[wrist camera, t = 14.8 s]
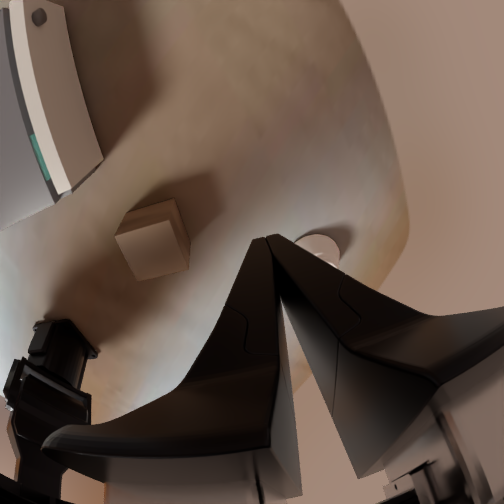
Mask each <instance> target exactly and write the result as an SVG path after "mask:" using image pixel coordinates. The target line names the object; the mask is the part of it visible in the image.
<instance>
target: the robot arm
mask: <svg viewBox="0 0 504 504" xmlns="http://www.w3.org/2000/svg"><path fill="white" fill-rule="evenodd" d="M281 301H282V303H283V306H284V308H285V311H286V313H287V315H288V317H289V320H290V322H291V324H292V327H293V329H294V331H295V333H296V336H297V338H298V340H299V343H300V345H301V347H302V350H303V352H304V354H305V356H306V359H307V361H308V363H309V366H310V368H311V370H312V373H313V375H314V377H315V379H316V382H317V384H318V386H319V389H320V391H321V393H322V396H323V398H324V400H325V403H326V405H327V407H328V410H329V412H330V414H331V417H332V419H333V421H334V424H335V426H336V428H337V431H338V433H339V435H340V438H341V440H342V442H343V445H344V447H345V450H346V452H347V454H348V457H349V459H350V461H351V464H352V466H353V468H354V471H355V473H356V475H357V478H358V479H360V478H363V477H366V476H369V475H371V474H374V473H376V472H379V471H381V470H384V469H385V472H386V474H387V477H388V480H389V483H390V484H388V485H386V486H384V487H383V489H384V492H385V495H386V500H383V501H381V502H379V503H376V504H504V307H499V308H493V309H487V310H482V311H475V312H468V313H460V314H453V315H445V316H433V315H428V314H424V313H422V312H419V311H417V310H415V309H413V308H411V307H408V306H406V305H404V304H402V303H400V302H398V301H396V300H394V299H391V298H389V297H387V296H385V295H383V294H381V293H379V292H377V291H375V290H373V289H371V288H369V287H367V286H366V285H364V284H362V283H361V282H359V281H357V280H355V279H354V278H352V277H350V276H349V275H347V274H346V275H345V273H344V272H342V271H340V270H339V269H337V268H335V267H334V266H332V265H330V264H329V263H327V262H325V261H324V260H322V259H320V258H319V257H317V256H315V255H314V254H312V253H310V252H309V251H307V250H305V249H304V248H302V247H300V246H298V245H297V244H295V243H293V242H292V241H290V240H288V239H287V238H285V237H283V236H281V235H280V234H273V235H269V236H266V238H265V237H261V238H256V239H253V240H252V242H251V244H250V246H249V249H248V251H247V253H246V256H245V258H244V260H243V263H242V265H241V267H240V270H239V272H238V275H237V277H236V279H235V282H234V284H233V286H232V289H231V291H230V293H229V296H228V298H227V301H226V303H225V306H224V307H223V310H222V312H221V315H220V317H219V319H218V321H217V323H216V325H215V327H214V329H213V331H212V333H211V335H210V336H209V338H208V340H207V342H206V343H205V345H204V347H203V348H202V350H201V352H200V353H199V355H198V356H197V358H196V360H195V361H194V363H193V365H192V366H191V368H190V370H189V371H188V373H187V375H186V376H185V378H184V379H183V380H182V382H181V383H180V384H179V385H178V386H177V387H176V388H175V389H174V390H172V391H171V392H169V393H168V394H166V395H164V396H162V397H160V398H158V399H156V400H154V401H152V402H150V403H148V404H146V405H144V406H142V407H140V408H138V409H136V410H134V411H131V412H129V413H127V414H125V415H123V416H121V417H119V418H116V419H114V420H111V421H108V422H105V423H101V424H95V425H91V395H90V394H88V393H85V392H83V391H81V390H80V388H81V383H82V379H83V375H84V371H85V367H86V363H87V359H95V358H97V357H98V353H97V352H96V351H95V350H94V349H93V347H92V346H91V345H90V344H89V343H88V341H87V340H86V339H85V338H84V337H83V335H82V334H81V333H80V332H79V331H78V329H77V328H76V327H75V326H74V324H73V323H72V322H71V321H70V320H68V319H64V320H59V321H53V322H48V323H43V324H38V325H34V327H33V331H34V332H35V334H34V336H33V339H32V341H31V344H30V346H29V349H28V353H29V354H30V355H29V357H28V360H27V359H26V358H25V357H22V359H21V360H17V359H14V361H13V364H12V367H11V369H10V372H9V375H8V378H7V380H6V383H5V386H4V389H3V393H4V395H5V398H6V400H5V401H6V406H5V408H6V409H7V410H9V411H11V412H10V416H9V420H8V425H7V433H8V436H9V439H10V443H11V445H12V448H13V451H14V454H15V457H16V467H15V475H14V480H12V479H10V478H8V477H6V476H4V475H3V474H1V473H0V504H74V503H70V502H67V501H63V500H61V499H60V498H61V480H62V475H63V473H65V472H66V470H67V469H68V468H70V469H72V470H74V471H76V472H78V473H81V474H83V475H85V476H88V477H90V478H92V479H95V480H98V481H100V482H102V483H104V504H287V501H286V499H288V498H293V497H298V496H302V495H303V494H302V484H301V473H300V462H299V453H298V452H299V451H298V442H297V431H296V421H295V412H294V403H293V394H292V385H291V376H290V367H289V359H288V351H287V342H286V334H285V326H284V318H283V311H282V304H281ZM20 379H22V380H20Z"/></svg>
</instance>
